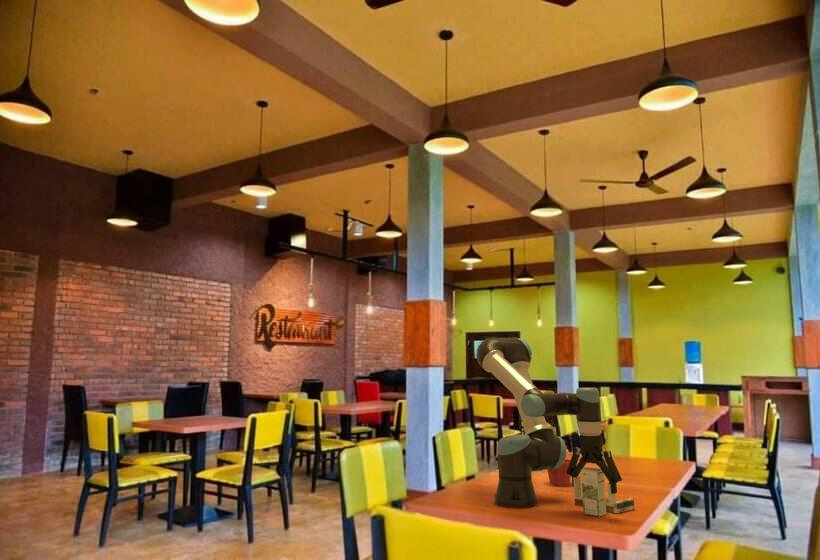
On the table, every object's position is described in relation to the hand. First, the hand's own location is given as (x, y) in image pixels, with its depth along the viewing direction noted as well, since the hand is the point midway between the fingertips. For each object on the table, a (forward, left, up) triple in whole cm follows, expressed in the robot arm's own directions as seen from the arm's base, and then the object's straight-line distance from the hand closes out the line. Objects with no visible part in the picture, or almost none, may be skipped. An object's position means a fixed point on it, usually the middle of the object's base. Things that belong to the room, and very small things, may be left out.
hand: (594, 500), depth 193 cm
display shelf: (+11, +5, -4) cm, 13 cm away
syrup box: (0, 0, -5) cm, 5 cm away
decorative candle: (+44, +67, -5) cm, 81 cm away
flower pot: (+30, +40, -5) cm, 50 cm away
